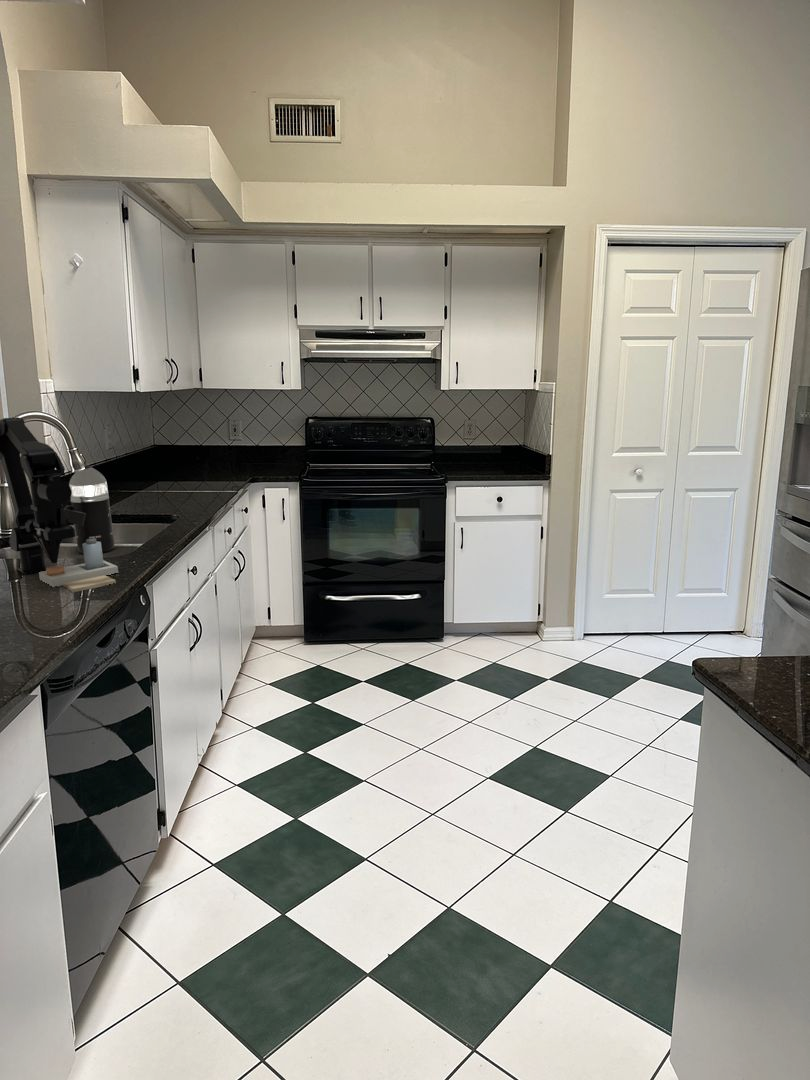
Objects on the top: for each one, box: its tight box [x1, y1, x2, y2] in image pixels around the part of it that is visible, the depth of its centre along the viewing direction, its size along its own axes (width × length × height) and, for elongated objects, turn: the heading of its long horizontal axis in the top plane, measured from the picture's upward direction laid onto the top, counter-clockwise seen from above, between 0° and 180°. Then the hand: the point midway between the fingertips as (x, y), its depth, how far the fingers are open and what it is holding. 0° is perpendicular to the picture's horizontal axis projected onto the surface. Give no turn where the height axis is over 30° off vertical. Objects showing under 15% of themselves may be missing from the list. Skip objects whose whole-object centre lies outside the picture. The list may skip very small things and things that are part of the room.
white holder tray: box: [38, 559, 119, 588], centre depth 190 cm, size 10×16×2 cm, turn 132°
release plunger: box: [45, 565, 65, 576], centre depth 186 cm, size 4×4×3 cm
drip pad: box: [62, 575, 117, 593], centre depth 182 cm, size 7×10×1 cm
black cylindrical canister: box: [68, 464, 115, 554], centre depth 216 cm, size 10×10×25 cm
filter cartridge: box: [82, 539, 104, 570], centre depth 192 cm, size 4×4×9 cm
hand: (54, 562), depth 185 cm, fingers closed
